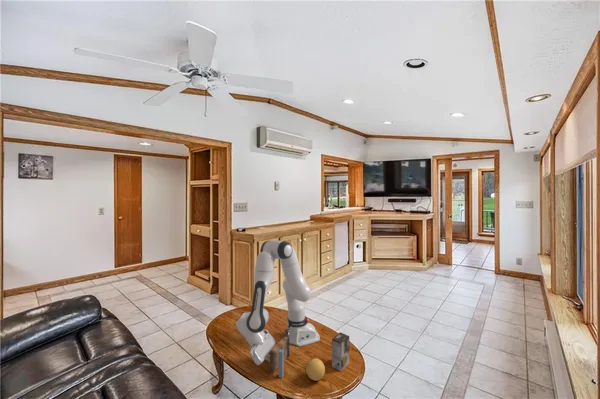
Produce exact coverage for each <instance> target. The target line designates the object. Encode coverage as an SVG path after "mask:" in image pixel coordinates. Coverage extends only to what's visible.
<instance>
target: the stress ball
mask: <svg viewBox="0 0 600 399" xmlns="http://www.w3.org/2000/svg"><path fill="white" fill-rule="evenodd" d="M307 362H308V363H306V370H305V373H306V375H307V377H308V378H309V379H311V381H319V380H321V379H323V377H324V375H325V374H326V368H325V364H324V362H323V361H322V360H321V359H319V358H315V357H314V358H312V359H310V360H309V361H307Z"/></svg>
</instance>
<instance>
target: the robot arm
mask: <svg viewBox="0 0 600 399" xmlns="http://www.w3.org/2000/svg"><path fill="white" fill-rule="evenodd" d="M259 249H260V252H259V253H258V255H257V257H256V261H255V265H254V266H255V267H254V276H253V277H254V278H253V280H254V281H253V285H254V286H253V296H252V303H251V309H250V311H249V312H248V311H247V312H243V313H241V315H240V316H239V317H238V318H237V319H236V322H235V326H236V328H237V329H238V331H239V333H240V334H241V336H242V337H244V338H245V339H246V342H247V343H248V344H249V345H250V348H249V354H250V356H251V358H252V361H254V363H255V364H256V365H257V366H260V365H261V364H262V363H263V362H264V360H266V361H267V362H269V363H270V351H271V350H272V349H273V348H274V347H275V346H276V340H275V338H274V337H273V336H272V335H271V333H269V330H267V329H265V327H266V324H268V321H269V318H270V317H269V316H270V314H269V311H268V310H267V309H266V308H264V307H265V299H266V294H267V291H268V289H269V288H270V286H271V284H272V283H273V278H274V273H275V272H274V271H275V261H276V260H278V259H279V260H280V265H281V268H282V272H283V276H284V277H285V279H284V280H283V282H282V288H283V290H284V292H285V293H284V294H285V298H286V302H287V320H286V322H287V323H286V325H287V326H286V327H287V328H288V329H290V332H289V344H291V345H295V346H296V347H302V346H307V345H311V344H314V343H317V342H320V339H321V337H320V334H319V333H318V331H317V330H316V327H315V326H314V324H312V323H311V322H310V321H311V320H310V319H309V318H308V317H307V316H306V314H305V313H306V312H305V311H306V309H305V308H306V306H305V303H306V302H307V301H309V300H310V299H311V295H312V290H311V288H310V287H309V285H308V283H307V282H306V279H305V277H304V275H303V273H302V270H301V268H300V262H299V259H298V256H297V252H296V250H295V248H294V247H293V245H292V244H291V243H290V242H288V241H286V240H278V239H275V240H266V241H264V242H263V243H262V244H261V247H260V248H259Z"/></svg>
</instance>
